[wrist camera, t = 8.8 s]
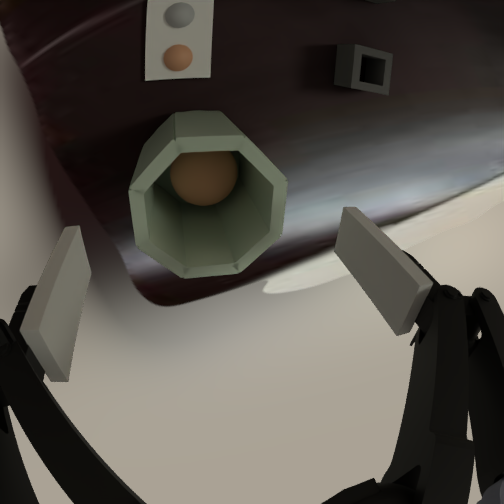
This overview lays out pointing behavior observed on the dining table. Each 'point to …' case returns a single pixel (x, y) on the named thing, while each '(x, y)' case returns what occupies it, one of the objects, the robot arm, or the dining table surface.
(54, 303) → the robot arm
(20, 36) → the dining table surface
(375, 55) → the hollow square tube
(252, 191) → the beaker sage
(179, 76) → the card
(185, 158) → the terracotta ball
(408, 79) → the dining table surface
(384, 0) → the cradle grey
